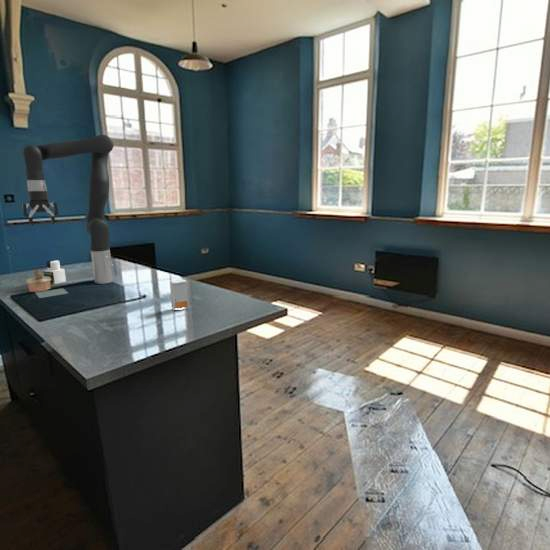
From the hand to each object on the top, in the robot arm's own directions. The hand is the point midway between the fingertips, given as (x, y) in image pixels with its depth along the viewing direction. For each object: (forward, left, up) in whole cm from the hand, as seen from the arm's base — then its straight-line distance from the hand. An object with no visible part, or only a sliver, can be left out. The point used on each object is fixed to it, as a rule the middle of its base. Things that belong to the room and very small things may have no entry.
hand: (42, 224), depth 182 cm
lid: (+5, -2, -28) cm, 28 cm away
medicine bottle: (-4, -14, -32) cm, 35 cm away
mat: (+2, +10, -32) cm, 34 cm away
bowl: (+5, -2, -32) cm, 33 cm away
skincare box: (-34, +72, -32) cm, 86 cm away
